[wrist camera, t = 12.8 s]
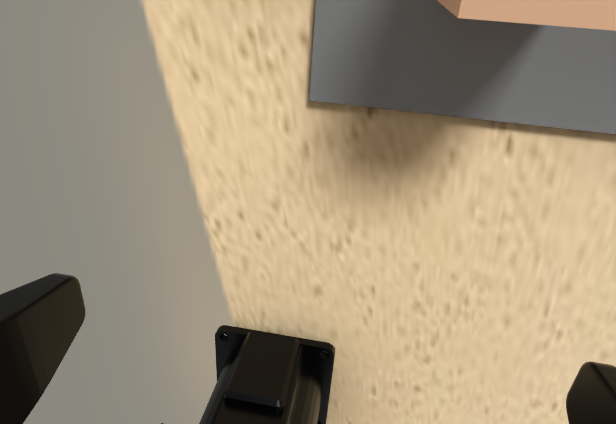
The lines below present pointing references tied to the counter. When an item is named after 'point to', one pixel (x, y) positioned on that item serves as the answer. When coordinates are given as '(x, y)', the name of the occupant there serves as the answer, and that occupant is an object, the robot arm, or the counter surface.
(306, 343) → the robot arm
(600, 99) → the mat
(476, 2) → the block
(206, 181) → the counter surface
